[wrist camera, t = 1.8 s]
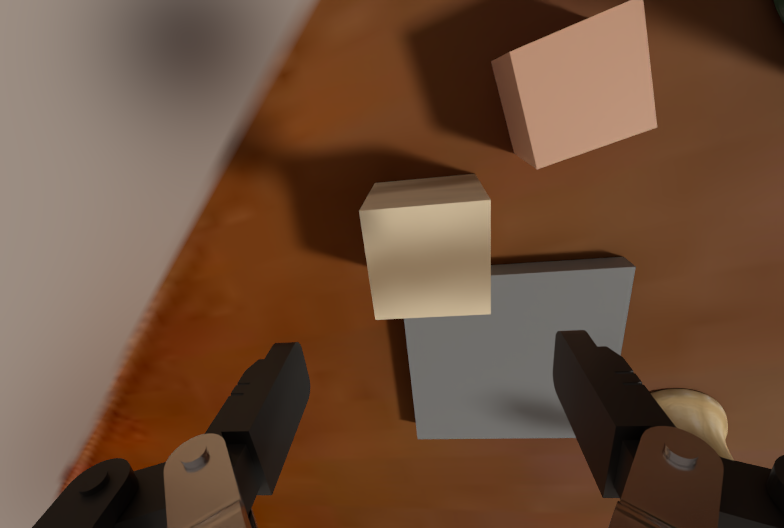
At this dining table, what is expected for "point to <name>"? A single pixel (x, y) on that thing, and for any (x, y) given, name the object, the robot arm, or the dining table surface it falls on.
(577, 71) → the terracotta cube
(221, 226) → the dining table surface
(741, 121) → the dining table surface
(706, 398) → the hand bell
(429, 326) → the slate tile
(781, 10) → the coffee jar
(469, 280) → the birch cube
